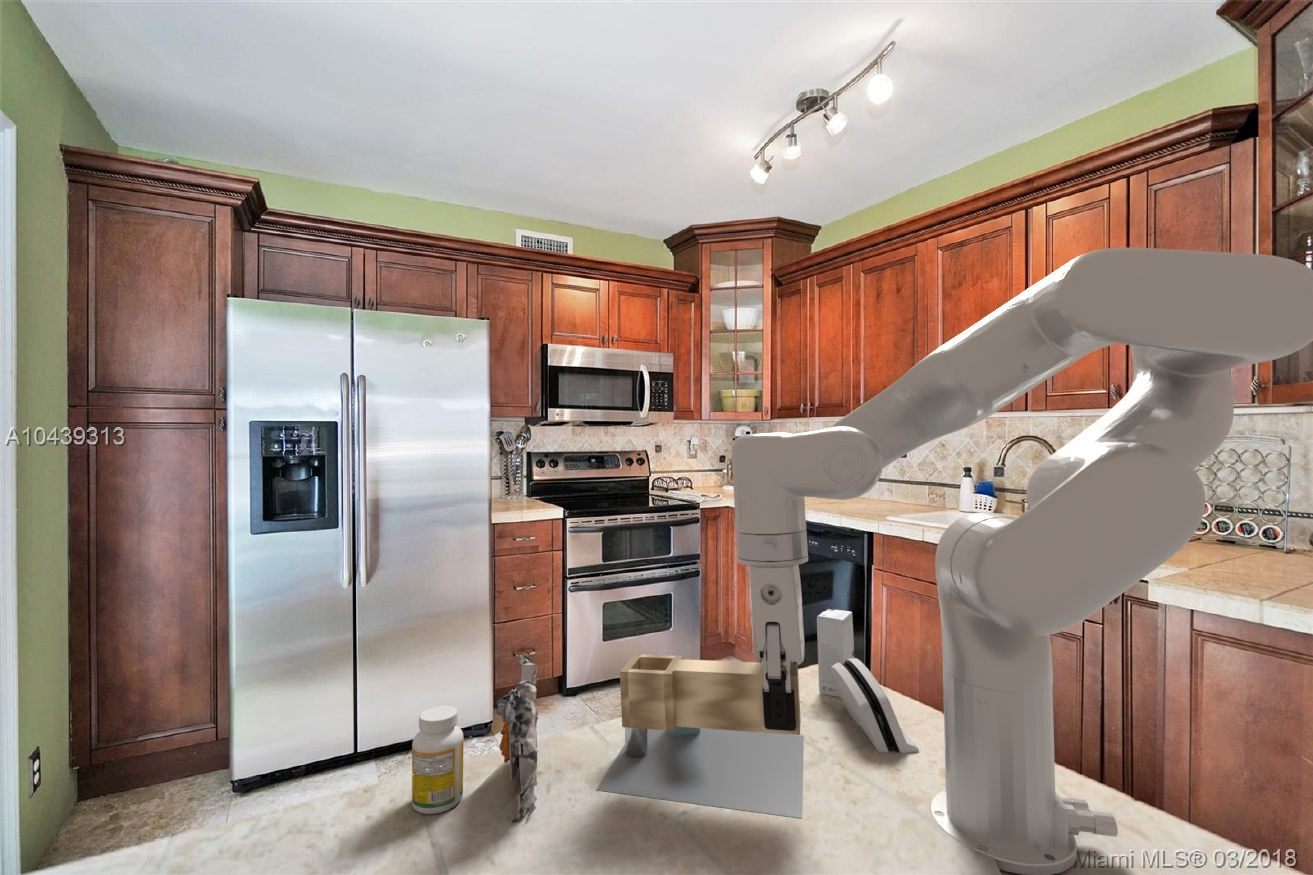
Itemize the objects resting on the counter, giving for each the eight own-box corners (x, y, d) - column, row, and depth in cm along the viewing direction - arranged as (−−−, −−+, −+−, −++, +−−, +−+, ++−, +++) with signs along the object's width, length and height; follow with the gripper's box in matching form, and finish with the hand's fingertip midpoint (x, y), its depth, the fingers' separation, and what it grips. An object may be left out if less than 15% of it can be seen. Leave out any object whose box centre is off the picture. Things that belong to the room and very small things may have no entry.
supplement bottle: (440, 820, 62) (439, 727, 62) (400, 809, 64) (400, 719, 64) (473, 793, 67) (473, 707, 68) (436, 783, 69) (436, 700, 69)
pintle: (650, 748, 75) (649, 687, 75) (644, 759, 72) (643, 696, 72) (628, 745, 75) (628, 685, 76) (622, 756, 73) (621, 694, 73)
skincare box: (845, 699, 92) (844, 620, 92) (817, 693, 94) (815, 616, 94) (856, 686, 97) (855, 611, 97) (829, 680, 99) (827, 607, 100)
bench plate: (803, 745, 77) (803, 736, 77) (802, 830, 60) (802, 818, 60) (640, 727, 83) (640, 719, 83) (596, 801, 65) (595, 790, 65)
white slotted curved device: (924, 763, 73) (894, 685, 73) (887, 776, 73) (858, 698, 73) (877, 705, 89) (853, 642, 90) (848, 716, 89) (824, 653, 90)
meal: (503, 762, 74) (502, 655, 74) (538, 758, 75) (537, 653, 75) (494, 838, 59) (494, 705, 60) (538, 832, 60) (538, 701, 61)
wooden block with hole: (622, 727, 65) (619, 671, 65) (637, 705, 71) (634, 654, 71) (799, 740, 60) (796, 680, 61) (800, 715, 66) (797, 660, 66)
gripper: (807, 560, 55) (818, 761, 55) (807, 536, 71) (816, 691, 71) (726, 561, 57) (737, 755, 57) (744, 537, 73) (753, 688, 73)
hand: (781, 718), depth 64 cm, fingers closed on wooden block with hole, 3 cm apart
